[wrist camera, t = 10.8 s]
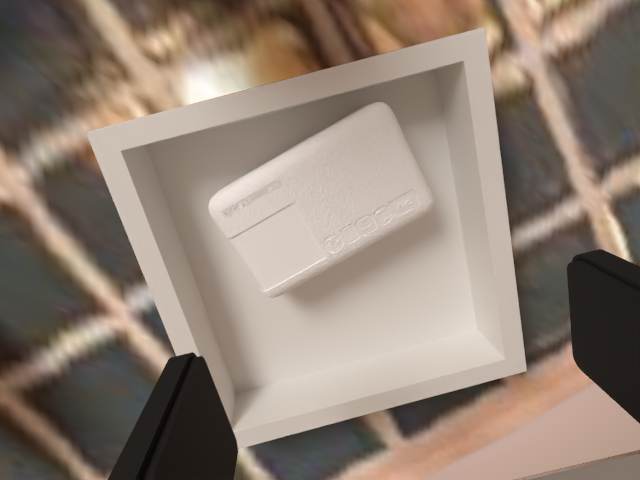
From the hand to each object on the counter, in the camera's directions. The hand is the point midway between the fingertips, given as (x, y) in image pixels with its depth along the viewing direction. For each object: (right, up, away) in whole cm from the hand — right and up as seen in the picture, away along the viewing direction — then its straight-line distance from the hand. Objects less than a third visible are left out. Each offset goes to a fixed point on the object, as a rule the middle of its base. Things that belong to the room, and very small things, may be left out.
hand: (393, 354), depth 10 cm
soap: (-2, +5, +10) cm, 12 cm away
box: (-2, +3, +11) cm, 12 cm away
